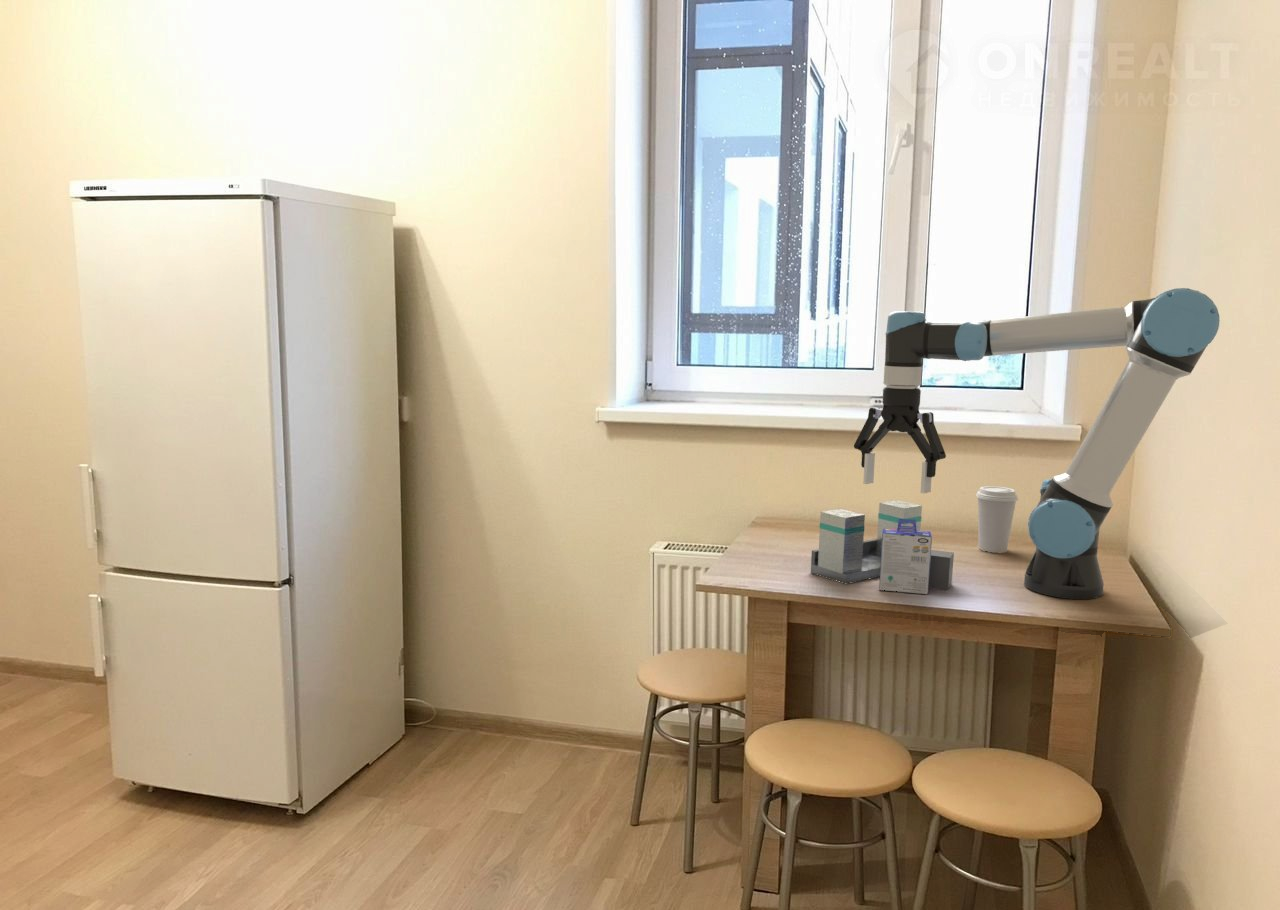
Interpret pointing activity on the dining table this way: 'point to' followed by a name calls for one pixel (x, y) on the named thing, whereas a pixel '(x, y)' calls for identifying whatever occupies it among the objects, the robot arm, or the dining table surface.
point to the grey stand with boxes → (856, 541)
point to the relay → (941, 570)
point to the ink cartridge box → (905, 559)
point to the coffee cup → (995, 517)
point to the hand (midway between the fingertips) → (896, 487)
